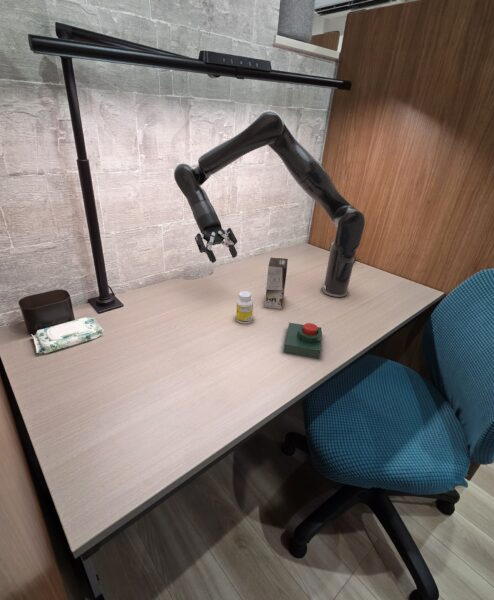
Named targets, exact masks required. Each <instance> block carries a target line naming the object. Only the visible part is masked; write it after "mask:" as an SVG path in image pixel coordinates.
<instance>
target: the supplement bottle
mask: <svg viewBox="0 0 494 600" xmlns="http://www.w3.org/2000/svg"><path fill="white" fill-rule="evenodd" d="M253 312H254V300H253V298H252V293H251V292H250V291H246V290H245V291H240V292H239V293H238V299H237V300H236V316H235V317H236V321H237V322H238V323H240V324H249V323H251V322H252V321H253V316H254V313H253Z"/></svg>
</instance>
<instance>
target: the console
mask: <svg viewBox="0 0 494 600" xmlns="http://www.w3.org/2000/svg"><path fill="white" fill-rule="evenodd" d="M303 327H304V324H301V323H295V322H288V327H287V331H286V336H285V341H284V347H283V353H284V354H289V355H294V356H301V357H306V358H311V359H317V360H318V359H320V356H321V351H322V350H321V349H322V336H323V330H322V327H320V326H317V327H318V329H317V334H316V335H307V334H305V333H303Z"/></svg>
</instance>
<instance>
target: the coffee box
mask: <svg viewBox="0 0 494 600" xmlns="http://www.w3.org/2000/svg"><path fill="white" fill-rule="evenodd" d="M288 260H289V259H288V258H284V257H270V258H269V262H268V265H267V275H266V276H267V279H266V287H265V300H264V308H271V309H276V310H282V307H283V303H284V298H285V297H284V295H285V291H286V290H285V289H286V281H287V273H288Z"/></svg>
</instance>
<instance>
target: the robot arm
mask: <svg viewBox="0 0 494 600" xmlns="http://www.w3.org/2000/svg"><path fill="white" fill-rule="evenodd" d="M265 146H268V147H269V148H270V149H271V150H272V151H273V152H274V153H276V155H277V156H278V157H279V158H280V160H281V161H282V163H283V164H284V167H286V169H287V171H288V172H289V174H290V175H291V177H292V178H293V180H294V181H295V182H296V183H297V185H298V186H299V187H300V188H301V189H302V190H303V191H304V192H305V193H306V194H307V195H308V196H309V197H310V198H311V199H312V200H313V201H315V202H316V203H317V204H318V205H319V206H321V208H322V209H323V210H324V212H326V214H327V215H328V217H329V218H330V220H331V221H332V223H333V224H334V226H335V227H336V233H335V238H334V240H333V241H332V242H331V244H330V250H329V255H328V259H327V265H326V271H325V276H324V282H323V283H322V292H323V293H324V294H325V295H327V296H330V297H333V298H344V297H346V296H347V295H348V290H349V286H350V282H351V281H350V280H351V276H352V272H353V267H354V263H355V262H356V253H357V250H358V248H359V246H360V245H361V241H362V237H363V234H364V230H365V225H366V217H365V215H364V214H363V212H361V211H360V210H359V209H358V208H357V207H356V206H355V207H354V206H353V205H352V204H351V203H349V201H348V200H347V199H346V198H345V197H344V196H343V195H342V194H341V193H340V192H339V190H338V189H337V187H336V186H335V183H334V182H333V179H332V178H331V176H330V174H329V173H328V172H327V171H326V170H325V168H324V167H323V166H322V165H321V163H320V162H319V161H318V160H317V159H316V157H314V156H313V155H312V154H311V152H310V151H308V150H307V149H306V148H305V147H304V146H303V145H302V144H301V143H300V142H299V141H298V140H297V139H296V138H295V136H294V135H293V134H292V133H291V131H290V129H289V128H288V126H287V125H286V123H285V122H284V120H283V118H282V117H281V115H280V114H279V113H278V112H277V111H275V110H271V109H266V110H264V111H262V112H261V113H259V114H258V115H257V116H256V119H254V121H252V122H251V123H250V124H249V125H248V126H247V127H246V128H245V129H243V130H242V131H241V132H239V133H237V134H236V135H235V136H233V137H231V138H230V139H229V138H228V139H227V140H225V141H224V142H221V143H219V144H218V145H216V146H214V147H213V148H211V149H209V150H208V151H206V152H205V153H203V154H201V155H200V156H199V158H198V159H197V164H198V165H196V167H194V168H193V166H191V165H190V164H188V163H184V162H183V163H179V164H177V165H175V168H174V171H173V178H174V181H175V183H176V185H177V186H178V188H179V190H180V191H181V192H182V194H183V196H184V197H185V198H186V200H187V204H188V206H189V208H190V210H191V212H192V216H193V218H194V221H195V222H196V223H195V224H196V225H197V228H198V229H199V232H198V233H197V234H196V235H195V236H194V241H195V244H196V246H197V248H198V251H199V253H201V254H203V253H205V254H206V256H207V258H208V260H209V262H211V264H214V263H216V262H217V258H216V255H215V253H214V251H213V250H212V247H213V246H216V245H222V246H225V247H227V248H228V251H229V252H230V255H231V257H232V259H235V258H237V256H238V251H237V249H236V247H235V246H236V244H237V243H238V240H237V238H236V234H235V233H234V231H233V230H232V228H231V227H228V228H227V229H223V227H222V223H221V221H220V219H219V216H218V214H217V212H216V210H215V208H214V205H213V204H212V203H211V201H210V198H209V196H208V194H207V192H206V191H205V189H204V188H203V187H202V185H204V183H206V182H207V181H208V179H210V177H211V176H212V175H214V174H216V173H218V172H219V171H221V170H223V169H224V168H226V167H229V165H231V164H232V163H234V162H235V161H237V160H239V159H240V158H242V157H243V156H245V155H247V154H249V153H251V152H253V151H255V150H258V149H260V148H263V147H265ZM204 241H205V242H206V243H204Z"/></svg>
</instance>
